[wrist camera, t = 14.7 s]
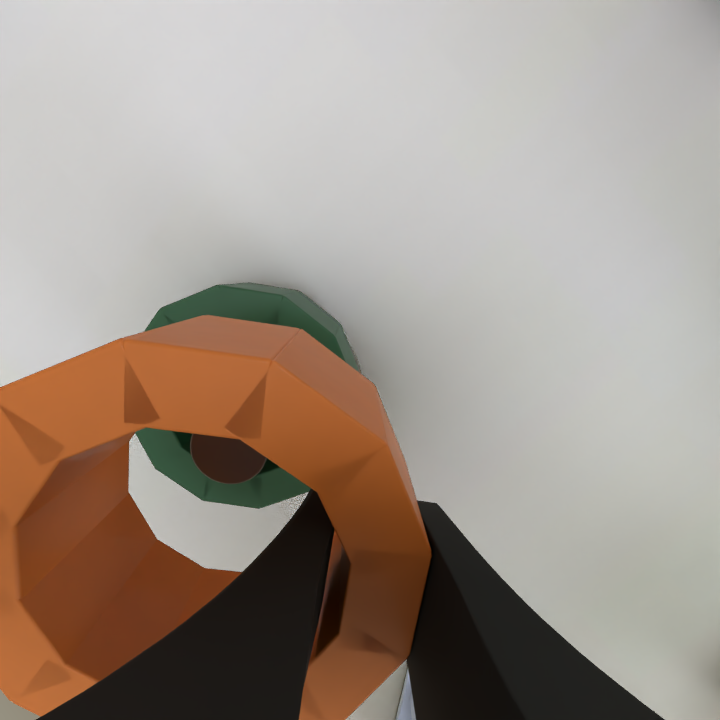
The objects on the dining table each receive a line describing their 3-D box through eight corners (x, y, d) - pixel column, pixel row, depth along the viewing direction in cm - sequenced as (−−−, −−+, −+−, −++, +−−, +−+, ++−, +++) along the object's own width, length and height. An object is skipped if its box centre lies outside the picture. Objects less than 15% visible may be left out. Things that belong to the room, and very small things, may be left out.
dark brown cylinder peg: (348, 478, 20) (341, 580, 14) (184, 454, 20) (92, 546, 13) (375, 315, 18) (383, 340, 12) (193, 286, 18) (91, 294, 11)
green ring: (342, 475, 19) (337, 520, 16) (167, 450, 19) (123, 489, 16) (370, 301, 17) (372, 308, 14) (175, 270, 17) (126, 269, 14)
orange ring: (373, 625, 12) (383, 776, 8) (76, 595, 11) (-49, 743, 8) (427, 346, 10) (471, 387, 6) (71, 294, 9) (-103, 307, 6)
